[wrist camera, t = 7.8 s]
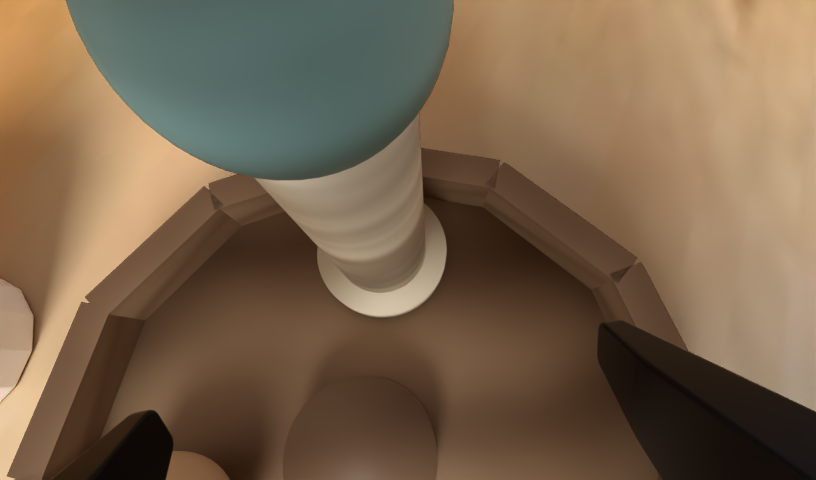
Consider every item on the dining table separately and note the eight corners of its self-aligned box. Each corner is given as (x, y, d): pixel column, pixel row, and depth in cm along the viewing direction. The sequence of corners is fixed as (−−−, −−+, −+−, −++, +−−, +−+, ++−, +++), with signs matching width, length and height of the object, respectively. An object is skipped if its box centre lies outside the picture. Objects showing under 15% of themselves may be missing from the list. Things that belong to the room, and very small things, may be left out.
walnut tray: (812, 695, 13) (918, 786, 10) (118, 974, 12) (21, 1161, 9) (527, 118, 20) (543, 75, 17) (65, 268, 19) (-1, 250, 16)
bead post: (471, 262, 17) (661, -248, 3) (375, 345, 16) (14, 189, 2) (392, 178, 18) (263, -451, 4) (300, 251, 17) (-228, -224, 3)
